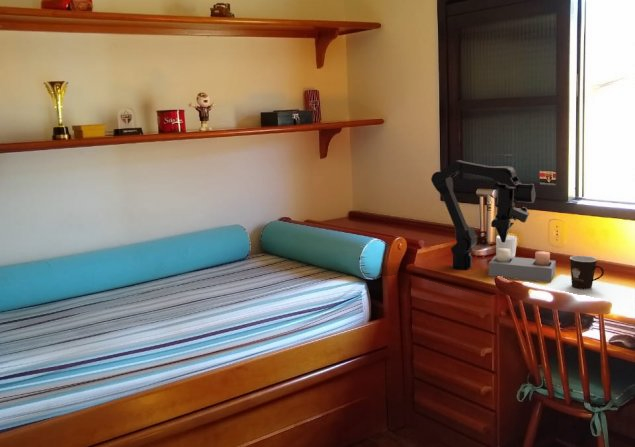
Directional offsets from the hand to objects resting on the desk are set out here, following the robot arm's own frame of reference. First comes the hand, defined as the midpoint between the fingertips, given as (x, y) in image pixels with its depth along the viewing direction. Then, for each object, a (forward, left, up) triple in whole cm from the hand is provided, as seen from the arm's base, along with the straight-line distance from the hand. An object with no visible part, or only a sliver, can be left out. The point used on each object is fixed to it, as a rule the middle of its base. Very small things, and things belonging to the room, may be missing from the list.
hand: (503, 242), depth 238 cm
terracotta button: (+14, 0, -7) cm, 16 cm away
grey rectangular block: (+7, 0, -12) cm, 14 cm away
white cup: (-2, +18, -12) cm, 22 cm away
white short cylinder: (0, 0, -7) cm, 7 cm away
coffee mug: (+29, -9, -12) cm, 33 cm away
